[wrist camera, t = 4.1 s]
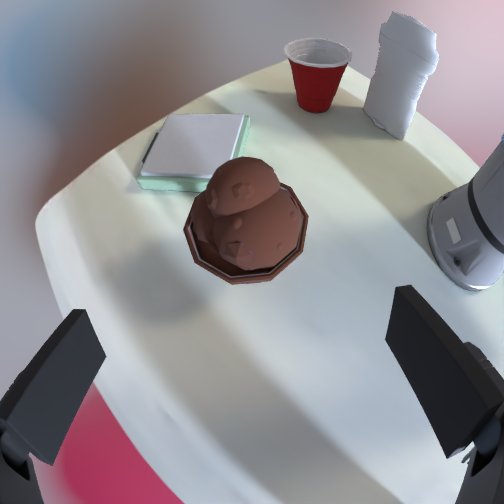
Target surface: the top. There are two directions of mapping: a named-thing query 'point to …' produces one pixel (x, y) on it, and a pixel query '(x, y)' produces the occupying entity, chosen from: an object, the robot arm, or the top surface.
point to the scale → (192, 150)
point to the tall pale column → (400, 72)
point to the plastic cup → (316, 70)
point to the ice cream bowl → (246, 223)
